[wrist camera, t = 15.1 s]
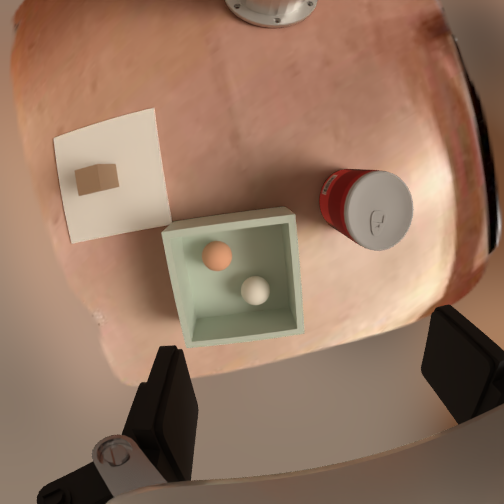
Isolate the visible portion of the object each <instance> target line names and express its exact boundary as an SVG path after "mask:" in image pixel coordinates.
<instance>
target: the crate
mask: <svg viewBox="0 0 504 504" xmlns="http://www.w3.org/2000/svg"><path fill="white" fill-rule="evenodd" d="M161 233H162V238H163V244H164V249H165V254H166V260H167V265H168V270H169V274H170V279H171V284H172V289H173V293H174V298H175V302H176V307H177V311H178V315H179V320H180V324H181V328H182V332H183V336H184V340H185V344H186V348H193V347H204V346H214V345H224V344H233V343H241V342H249V341H257V340H265V339H272V338H279V337H286V336H292V335H299V334H305V333H304V317H303V301H302V287H301V274H300V261H299V250H298V238H297V227H296V217H295V214H294V213H293V212H292V211H290V210H289V209H288V208H287V207H285V206H283V207H275V208H267V209H258V210H251V211H243V212H235V213H228V214H220V215H213V216H206V217H199V218H192V219H185V220H178V221H174V222H172V223H171V224H170V225H169V226H168V227H167V228H166V229H164V230H163V231H162V232H161ZM213 241H221V242H224V243H226V244H227V245H228V246H229V247H230V249H231V252H232V260H231V263H230V265H229V266H228V267H227V268H226V269H224V270H221V271H213V270H210V269H208V268H207V267H206V266H205V264H204V263H203V260H202V252H203V249H204V248H205V246H206V245H207V244H208V243H210V242H213ZM252 276H259V277H262V278H264V279H265V280H266V281H267V282H268V284H269V286H270V295H269V297H268V299H267V300H266V301H265V302H264V303H262V304H260V305H251V304H249V303H247V302H246V301H245V300H244V299H243V297H242V295H241V286H242V284H243V282H244V281H245V280H246V279H247V278H249V277H252Z"/></svg>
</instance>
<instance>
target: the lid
mask: <svg viewBox="0 0 504 504" xmlns="http://www.w3.org/2000/svg"><path fill="white" fill-rule="evenodd" d="M54 147H55V155H56V163H57V170H58V177H59V183H60V189H61V195H62V200H63V206H64V211H65V216H66V221H67V225H68V230H69V234H70V238H71V243H72V244H73V243H77V242H82V241H87V240H92V239H97V238H102V237H107V236H112V235H118V234H123V233H128V232H133V231H139V230H144V229H150V228H155V227H161V226H167V225H170V224H171V223H172V218H171V213H170V207H169V202H168V196H167V190H166V184H165V178H164V172H163V166H162V159H161V153H160V146H159V139H158V132H157V124H156V117H155V109H154V108H151V109H147V110H143V111H139V112H135V113H131V114H127V115H123V116H120V117H116V118H113V119H109V120H106V121H103V122H99V123H96V124H93V125H90V126H87V127H84V128H81V129H78V130H75V131H72V132H69V133H66V134H63V135H60V136H58V137H55V138H54Z"/></svg>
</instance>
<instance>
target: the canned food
mask: <svg viewBox="0 0 504 504" xmlns="http://www.w3.org/2000/svg"><path fill="white" fill-rule="evenodd" d="M319 204H320V210H321V213H322V215H323V217H324V219H325V220H326V222H327V223H328V224H329V225H330V226H332V227H333V228H335V229H336V230H338V231H339V232H341V233H342V234H344V235H345V236H346V237H348V238H349V239H351V240H352V241H354V242H355V243H357V244H359V245H360V246H362V247H364V248H367V249H370V250H374V251H382V250H386V249H389V248H391V247H393V246H395V245H396V244H397V243H399V242H400V241H401V240H402V239H403V238H404V236H405V235H406V233H407V232H408V229H409V227H410V225H411V221H412V218H413V201H412V197H411V194H410V191H409V189H408V187H407V186H406V184H405V183H404V182H403V181H402V180H401V179H400V178H399V177H398V176H396V175H394V174H392V173H389V172H386V171H379V170H360V169H344V170H340V171H337V172H335V173H334V174H332V175H331V176H330V177H329V178H328V179H327V180H326V182H325V183H324V185H323V187H322V189H321V193H320V200H319Z"/></svg>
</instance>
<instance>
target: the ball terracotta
mask: <svg viewBox="0 0 504 504" xmlns="http://www.w3.org/2000/svg"><path fill="white" fill-rule="evenodd" d="M202 260H203V263H204V264H205V266H206V267H207V268H208V269H210V270H213V271H221V270H224V269H226V268H227V267H228V266H229V265H230V263H231V260H232V252H231V249H230V247H229V246H228V245H227V244H226V243H224V242H221V241H213V242H210V243H208V244H207V245H206V246H205V248H204V249H203V252H202Z"/></svg>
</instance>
